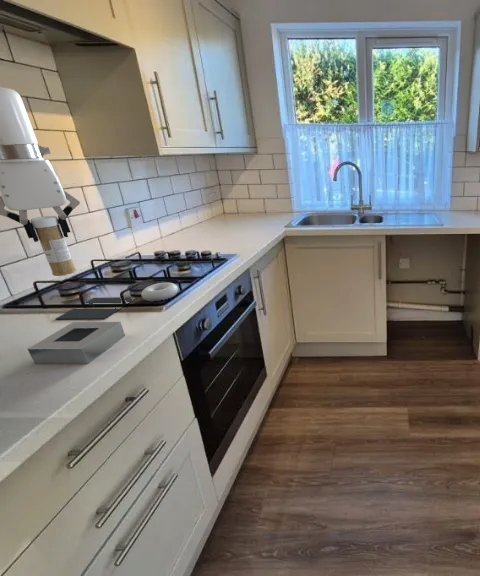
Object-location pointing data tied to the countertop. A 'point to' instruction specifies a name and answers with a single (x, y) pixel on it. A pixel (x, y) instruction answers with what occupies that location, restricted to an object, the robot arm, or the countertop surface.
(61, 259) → the sprinkles bottle
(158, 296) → the donut
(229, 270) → the countertop surface
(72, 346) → the stand
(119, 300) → the mat
